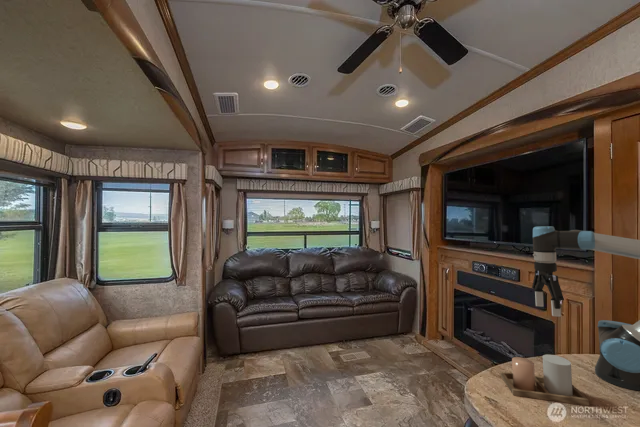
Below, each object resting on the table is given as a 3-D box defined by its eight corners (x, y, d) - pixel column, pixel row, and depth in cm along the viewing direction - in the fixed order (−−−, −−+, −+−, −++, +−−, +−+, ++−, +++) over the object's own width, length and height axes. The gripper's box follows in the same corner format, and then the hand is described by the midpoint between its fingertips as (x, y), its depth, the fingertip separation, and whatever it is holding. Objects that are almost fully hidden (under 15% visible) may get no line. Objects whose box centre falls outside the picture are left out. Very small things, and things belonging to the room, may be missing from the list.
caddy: (566, 385, 106) (566, 379, 107) (589, 407, 94) (588, 400, 94) (500, 377, 113) (500, 371, 113) (513, 396, 100) (513, 390, 101)
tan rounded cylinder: (530, 383, 107) (529, 358, 108) (539, 394, 101) (537, 367, 101) (510, 381, 109) (509, 356, 110) (517, 391, 103) (516, 364, 103)
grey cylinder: (563, 386, 105) (561, 355, 106) (578, 399, 97) (576, 366, 98) (539, 384, 107) (537, 353, 107) (552, 397, 99) (551, 364, 99)
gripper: (522, 257, 130) (524, 302, 129) (550, 265, 106) (553, 320, 105) (540, 258, 128) (543, 303, 127) (573, 266, 104) (576, 321, 103)
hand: (547, 311), depth 116 cm, fingers open, 13 cm apart
